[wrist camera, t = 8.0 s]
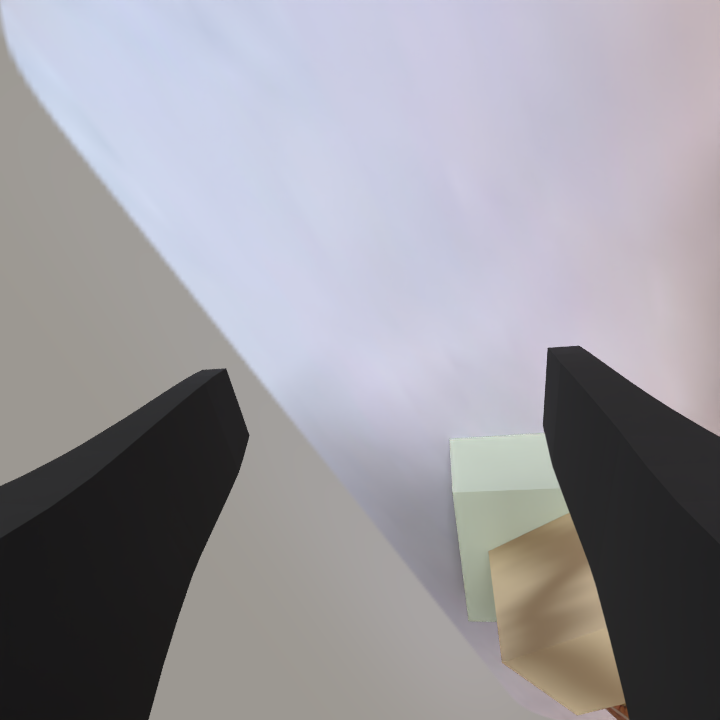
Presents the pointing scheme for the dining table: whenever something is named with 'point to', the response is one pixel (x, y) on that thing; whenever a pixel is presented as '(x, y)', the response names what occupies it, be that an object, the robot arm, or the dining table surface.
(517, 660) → the maple cube
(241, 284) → the dining table surface
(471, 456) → the sage base block
